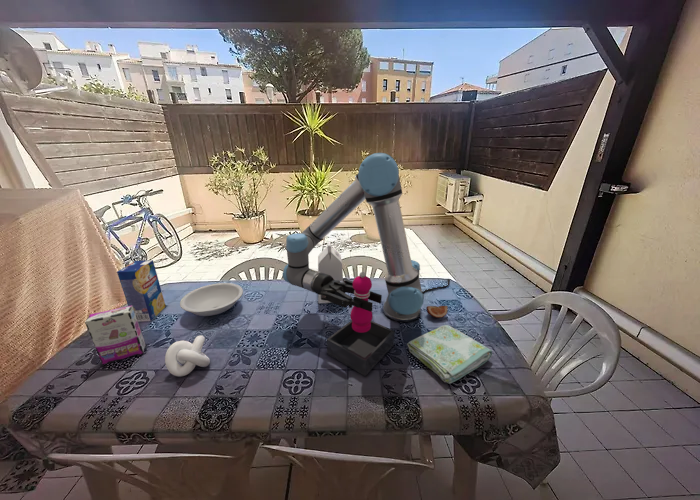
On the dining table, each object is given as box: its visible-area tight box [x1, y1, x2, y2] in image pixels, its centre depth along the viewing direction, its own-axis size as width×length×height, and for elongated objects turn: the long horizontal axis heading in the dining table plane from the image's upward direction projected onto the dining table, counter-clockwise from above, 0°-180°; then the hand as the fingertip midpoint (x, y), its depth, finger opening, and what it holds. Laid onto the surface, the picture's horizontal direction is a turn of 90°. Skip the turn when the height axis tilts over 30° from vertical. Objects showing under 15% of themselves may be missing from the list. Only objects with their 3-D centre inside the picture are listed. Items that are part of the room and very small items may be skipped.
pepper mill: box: [349, 271, 373, 333], centre depth 86 cm, size 7×7×20 cm
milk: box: [317, 240, 344, 304], centre depth 122 cm, size 12×12×26 cm
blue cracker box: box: [116, 259, 167, 323], centre depth 110 cm, size 7×11×22 cm, turn 7°
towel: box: [406, 324, 493, 385], centre depth 89 cm, size 18×21×5 cm
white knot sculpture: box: [164, 334, 211, 378], centre depth 85 cm, size 11×12×9 cm
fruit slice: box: [426, 305, 449, 319], centre depth 110 cm, size 8×7×5 cm
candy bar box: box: [84, 305, 147, 365], centre depth 88 cm, size 11×5×16 cm, turn 117°
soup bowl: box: [179, 282, 244, 317], centre depth 116 cm, size 24×24×7 cm
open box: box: [326, 319, 396, 377], centre depth 92 cm, size 18×16×6 cm
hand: (376, 303), depth 83 cm, fingers closed on pepper mill, 5 cm apart
